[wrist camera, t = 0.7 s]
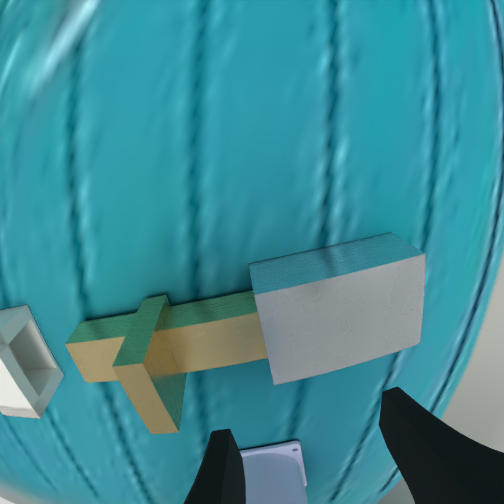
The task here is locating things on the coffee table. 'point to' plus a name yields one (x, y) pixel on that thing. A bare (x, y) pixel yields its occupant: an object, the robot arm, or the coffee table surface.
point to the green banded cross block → (167, 350)
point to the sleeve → (339, 305)
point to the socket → (25, 365)
